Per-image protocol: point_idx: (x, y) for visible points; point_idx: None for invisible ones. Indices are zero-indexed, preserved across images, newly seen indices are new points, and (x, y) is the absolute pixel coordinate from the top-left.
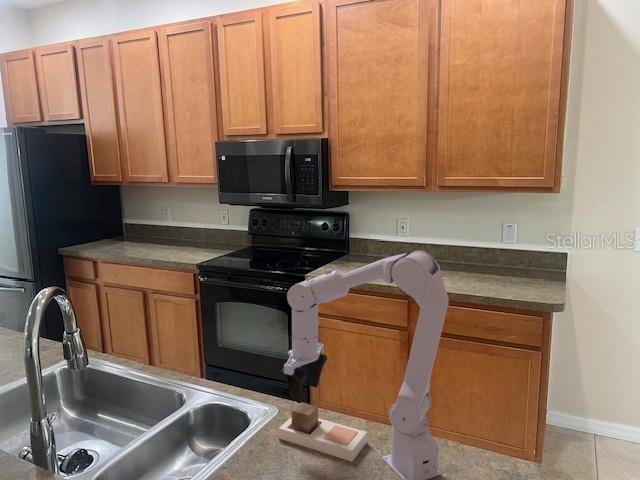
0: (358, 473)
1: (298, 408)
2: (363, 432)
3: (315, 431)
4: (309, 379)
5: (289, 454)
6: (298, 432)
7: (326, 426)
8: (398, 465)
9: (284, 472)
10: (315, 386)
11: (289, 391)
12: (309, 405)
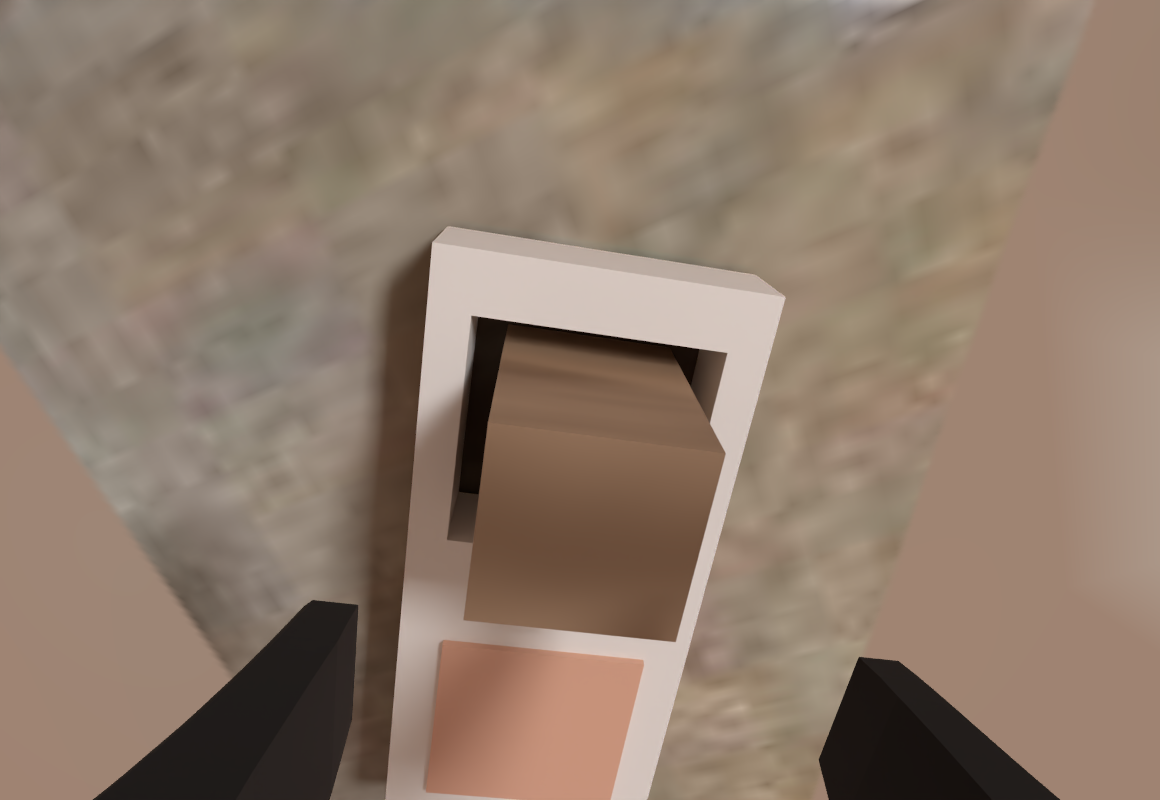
0: None
1: (566, 476)
2: None
3: None
4: (911, 757)
5: (297, 390)
6: (439, 444)
7: None
8: None
9: (89, 438)
10: (828, 761)
11: (222, 689)
12: (675, 558)
